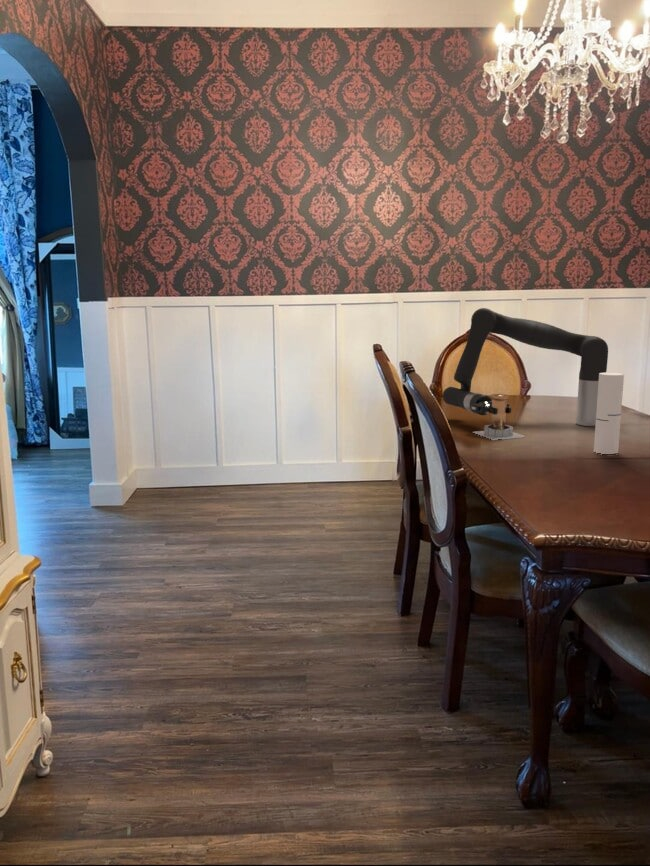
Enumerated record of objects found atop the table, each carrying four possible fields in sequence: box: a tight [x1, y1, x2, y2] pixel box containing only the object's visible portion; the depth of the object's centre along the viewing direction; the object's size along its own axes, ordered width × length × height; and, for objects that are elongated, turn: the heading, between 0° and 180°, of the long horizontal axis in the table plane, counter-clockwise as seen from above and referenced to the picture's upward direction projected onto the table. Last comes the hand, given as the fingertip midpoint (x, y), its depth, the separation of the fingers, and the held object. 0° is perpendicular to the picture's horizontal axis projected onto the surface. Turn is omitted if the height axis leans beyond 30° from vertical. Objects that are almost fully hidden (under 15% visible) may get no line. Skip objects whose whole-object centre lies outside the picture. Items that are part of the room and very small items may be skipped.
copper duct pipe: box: [490, 393, 509, 429], centre depth 246 cm, size 6×6×12 cm
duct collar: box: [472, 424, 526, 441], centre depth 247 cm, size 13×13×3 cm
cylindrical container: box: [593, 372, 625, 455], centre depth 217 cm, size 7×7×25 cm
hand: (503, 411), depth 243 cm, fingers closed on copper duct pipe, 5 cm apart
